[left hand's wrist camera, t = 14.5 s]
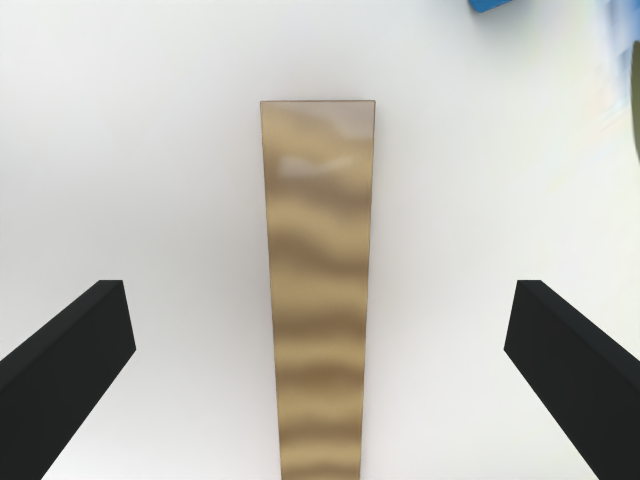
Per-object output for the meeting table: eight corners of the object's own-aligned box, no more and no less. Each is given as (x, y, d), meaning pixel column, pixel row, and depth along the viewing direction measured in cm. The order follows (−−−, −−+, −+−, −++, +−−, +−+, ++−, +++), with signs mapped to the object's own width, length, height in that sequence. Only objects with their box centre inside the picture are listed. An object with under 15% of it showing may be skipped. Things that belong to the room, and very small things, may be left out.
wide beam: (270, 100, 34) (259, 101, 28) (365, 100, 34) (375, 100, 28) (292, 559, 56) (289, 616, 50) (350, 559, 56) (354, 616, 50)
